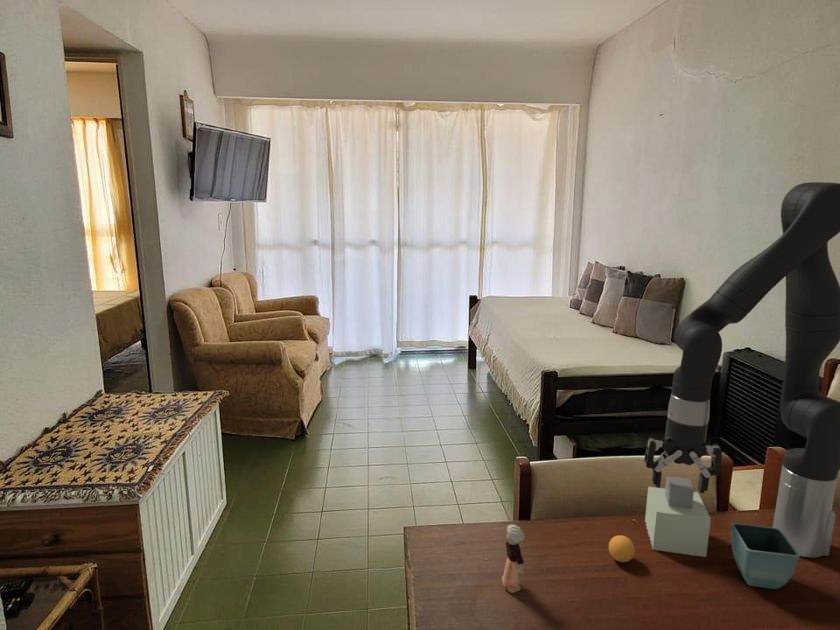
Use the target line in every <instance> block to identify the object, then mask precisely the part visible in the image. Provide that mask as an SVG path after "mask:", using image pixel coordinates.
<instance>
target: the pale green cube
mask: <svg viewBox="0 0 840 630" xmlns="http://www.w3.org/2000/svg"><path fill="white" fill-rule="evenodd" d="M711 520H712V518H711V515H710V514H709V512H708V510H707V508H706V506H705V504H704V502H703V500H702V498H701V495H700V493H699V491H695V489H694V487H693V485H692V482H691V480H690V478H685V477H678V476H666V480H665V487H660V488H656V486H655V487H653V486H648V487H647V496H646V505H645V518H644V523H645V522H646V524H645V526H647V527H646V530H648V531H647V534H648V538H649V537H650V538H649V541H651V542H650V544H651V545H650V546H651V547H652V548H651V549H652V551H653V550H654V551H660V552H665V553H666V552H667V553H673V554H674V553H675V554H682V555H689V556H696V557H702V558H706V557H707V553H708V545H709V536H710V529H711Z"/></svg>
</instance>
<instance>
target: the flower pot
mask: <svg viewBox="0 0 840 630" xmlns="http://www.w3.org/2000/svg"><path fill="white" fill-rule="evenodd" d="M730 527H731V528H730V530H731V531H730V537H731V540H730V541H731V542H730V544H731V550H732V556H733V558H734V561H735V564H736V566H737V568H738V570H739V572H740V574H741V576H742V577H743V579H744V581H745V583H746V585H748V586H750V587H757V588H764V589H770V590H777V589H780V588H781V587H783V586H785V585H786V584H787V583H788V582H789V581H790V580H791V578H792V576H793V575H794V572H795V570H796V568H797V565H798V562H799V559H800V557H801V556H800V555H799V554H798V552H797V551H796V550H795V549H794V547H793V546H792V545H791V543H790V542H789V540H788V539H787V538H786V536H785V535H784V534H783V532H782V531H781V530H780V529H779V528H774V527H773V526H761V525H754V524H746V523H737V522H733V523H731V522H730Z"/></svg>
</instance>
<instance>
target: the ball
mask: <svg viewBox="0 0 840 630" xmlns="http://www.w3.org/2000/svg"><path fill="white" fill-rule="evenodd" d="M608 551H609V553H610V556H611V557H612V558H613V559H614V560H616V561H617V562H620V563H627V562H630V561H631V560H632V559H634V558H635V557H634V556H635V554H636V549H635V544H634V542H633V541H632V540H631V539H630V538H629V537H628V536H625V535H622V534H621V535H619V534H618V535H615V536H613V537H612V538H611V539H610V540H609V543H608Z"/></svg>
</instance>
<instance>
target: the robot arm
mask: <svg viewBox="0 0 840 630" xmlns="http://www.w3.org/2000/svg"><path fill="white" fill-rule="evenodd" d="M780 219H781V220H780V221H781V228H782V235H780V237H778V238H777V239H776V240H775V241H774V242H773V243H772V244H770V245H769V246H768V247H767V248H765V249H764V250H763V251H761V252H759V254H757V255H755V256H754V257H752V258H751V259H749V260H748V261H746V262H745V263H743V264H742V265H741V266H740V267H738V268H737V269H736V270H735V271H734V272H733V273H731V275H729V276H728V277H727V278H726V280H724V282H723V283H722V284H721V285H720V286H719V287H718V288H717V289H716V290H715V292H714V293H712V295H711V296H710V297H709V299H707V300H706V301H705V302H703V303H701V304H700V305H699V306H698V307H697V308H696V309H694V310H692V311H691V312H690V313H689V314H688V315H686V316H685V318H683V319H682V321H680V322H679V324H678V325H677V327H676V329H675V332H674V334H673V335H674V342H675V345H677V347H678V348H679V349H680V350H681V351H682V353H681V354H682V357H681V360H680V361H681V362H680V366H678V367H677V368H676V369H675V371H674V373H673V378H672V386H671V394H670V398H669V400H668V408H667V416H666V417H667V418H666V426H665V434H664V438H663V440H658V439H654V438H653V437H652V436H651V437H648V439H647V443H646V450H645V454H644V459H643V461H644V463H645V466H646V468H648V469H652V475H651V477H652V478H651V480H652V483H653V486H655V487H656V488H661V482H662V474H663V472H662V470H664V468H666V467H669V466H670V465H671V464H672V463H674V464H677V465H680V464H681V465H682V464H684V465H687V466H692V465H694V464H695V466H696V467H697V468H698V469H699V471H700V472H699V475H698V482H697V483H698V484H697V490H698V493H699V494H705V492H707V491H708V489H709V483H710V479H711V477H713V476H715V477H719V476H721V474H722V473H721V471H722V459H723V456H722V455H723V450H722V449H721V448H720V446H719V444H717V443H713V444H712V445H706V441H707V435H708V434H707V433H708V426H709V420H710V412H711V411H710V410H711V408H710V407H711V406H710V404H711V403H710V402H711V401H710V400H711V392H712V385H713V377H714V376H715V373H716V371H717V368H718V366H719V363H720V359H721V356H722V351H723V340H722V336H721V334H720V332H721V331H722V330H724V328H725V327H727V326H728V325H730V324H733V325H734V324H738V323H739V322H741V321H742V320H744V318H746V317H747V316H748V314H749V313H750V312H751V311H753V309H754V308H755V307H756V306H757V305H758V304H759V303H760V302H761V301H762V300H763V298H765V296H767V294H768V293H770V291H771V290H772V289H773V288H775V287H776V285H778V284H779V283H780V281H782V280H783V279H784V278H785V308H784V311H785V323H784V325H785V326H784V327H785V358H784V359H785V361H784V363H785V364H784V377H783V382H782V383H783V385H782V390H781V400H780V417H781V420H782V423H783V424H784V425H785V427H787V428H788V429H789V430H790V431H792V432H794V433H795V434H798V435H800V436H801V437H803V438H806V444H805V447H804V448H803V447H800V448H798V447H796V448H790V449H788V450H786V451H785V452H784V455H783V458H782V465H781V470H780V476H779V477H780V479H779V485H778V492H777V498H776V505H775V510H774V511H775V512H774V515H773V516H774V517H773V524H772V527H774V528H779V529H780V530H781V531H782V532H783V534H784V535H785V536H786V538H787V539H788V540H789V542H790V543H791V545H792V546H793V547H794V549H795V550H796V551H797V552H798V554H799V555H800V557H804V558H810V559H811V558H813V559H814V558H819V557H821V556H826V557H829V555H830V550H831V545H832V539H833V533H834V527H835V521H836V517H837V516H836V513H835V511H833V503H834V498H835V493H836V488H837V480H838V475H839V471H840V401H838V400H836V399H833V398H831V397H828V396H825V395H823V394H821V392H820V373H821V368H822V365H823V363H824V362H825V361H826V359H827V358H828V357H829V356H830V355H831V353H833V351H834V350H835V348H837V346H838V344H839V343H840V282H839V281H838V278H837V276H836V274H835V271H834V269H833V267H832V264H831V260H830V255H829V250H828V247H829V246H828V244H829V242H830V240H832V239H833V238H835V237H836V236H837V235H838V234H840V183H839V182H823V181H822V182H817V181H815V182H804V183H800V184H797V185H795V186H794V187H792V188H791V189H790V190H789V191H788V192H787V193H786V195H784V198H783V200H782V202H781V207H780ZM660 448H663V450H664V451H663V452H662V453H661V454H660V455H659V457H658V458H657V459H655V460H654V458H655V454H656V452H657V451H658V450H659V449H660ZM706 453H708V454H709V456H710V466H709V467H707V466H706V465H705V464H704V462H703V461H702V459H701V458H702V457H703V456H704V455H706Z"/></svg>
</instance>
